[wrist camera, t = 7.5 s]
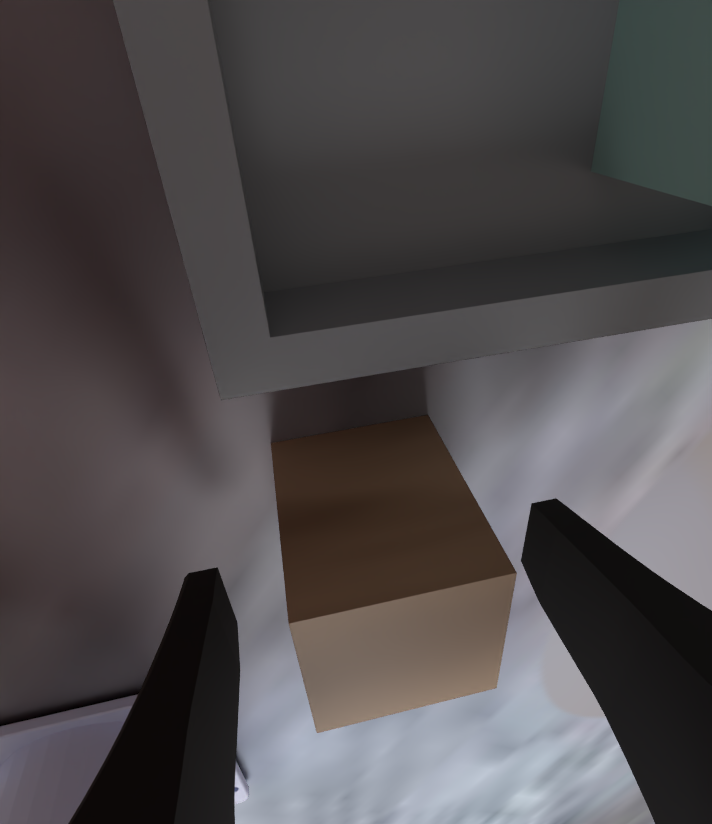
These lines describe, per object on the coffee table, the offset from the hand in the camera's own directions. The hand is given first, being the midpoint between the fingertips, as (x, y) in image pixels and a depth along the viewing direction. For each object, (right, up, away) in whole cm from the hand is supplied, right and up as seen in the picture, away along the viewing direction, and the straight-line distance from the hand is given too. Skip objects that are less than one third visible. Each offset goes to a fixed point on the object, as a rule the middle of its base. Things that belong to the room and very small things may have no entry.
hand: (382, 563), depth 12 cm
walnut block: (-1, +1, +2) cm, 3 cm away
